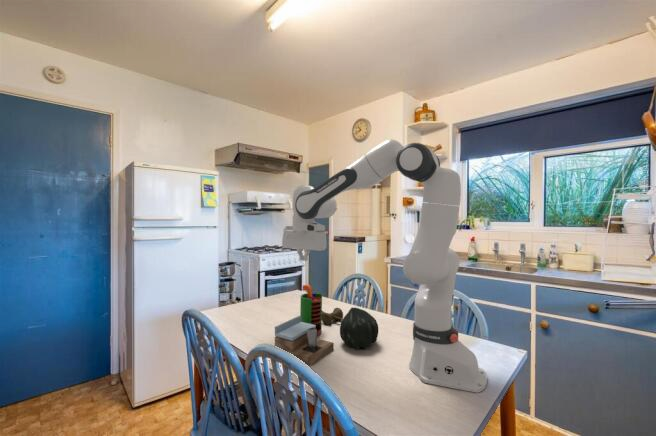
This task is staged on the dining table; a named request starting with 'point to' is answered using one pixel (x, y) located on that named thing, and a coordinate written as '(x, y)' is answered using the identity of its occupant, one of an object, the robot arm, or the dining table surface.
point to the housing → (305, 348)
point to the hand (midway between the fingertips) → (303, 260)
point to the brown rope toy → (332, 316)
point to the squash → (358, 329)
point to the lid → (292, 329)
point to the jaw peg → (312, 340)
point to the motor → (311, 308)
